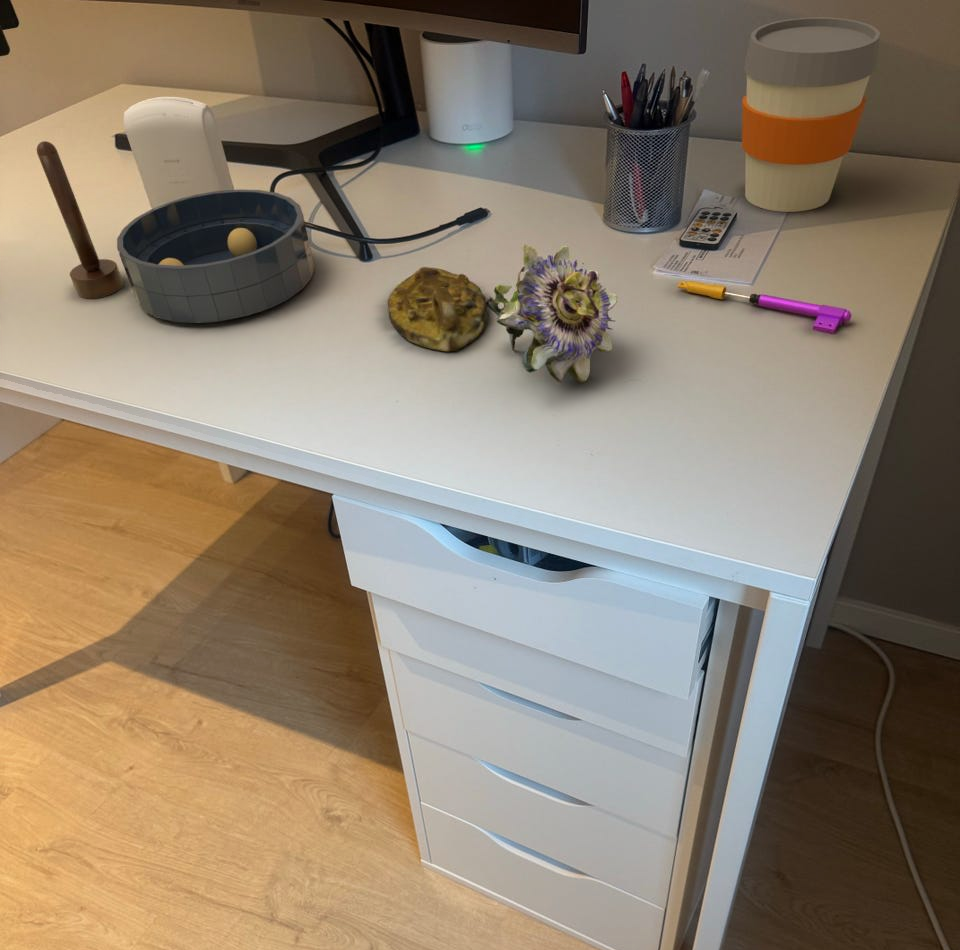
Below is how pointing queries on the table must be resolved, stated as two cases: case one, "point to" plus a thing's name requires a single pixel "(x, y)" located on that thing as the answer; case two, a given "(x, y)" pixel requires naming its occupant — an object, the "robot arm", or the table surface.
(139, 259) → the bowl
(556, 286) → the passion flower
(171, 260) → the dough ball
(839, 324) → the piston cylinder
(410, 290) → the lumpy olive cookie
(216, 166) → the photo printer
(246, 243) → the dough ball
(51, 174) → the wooden dough tamper
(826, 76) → the reusable coffee cup
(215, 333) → the table surface
